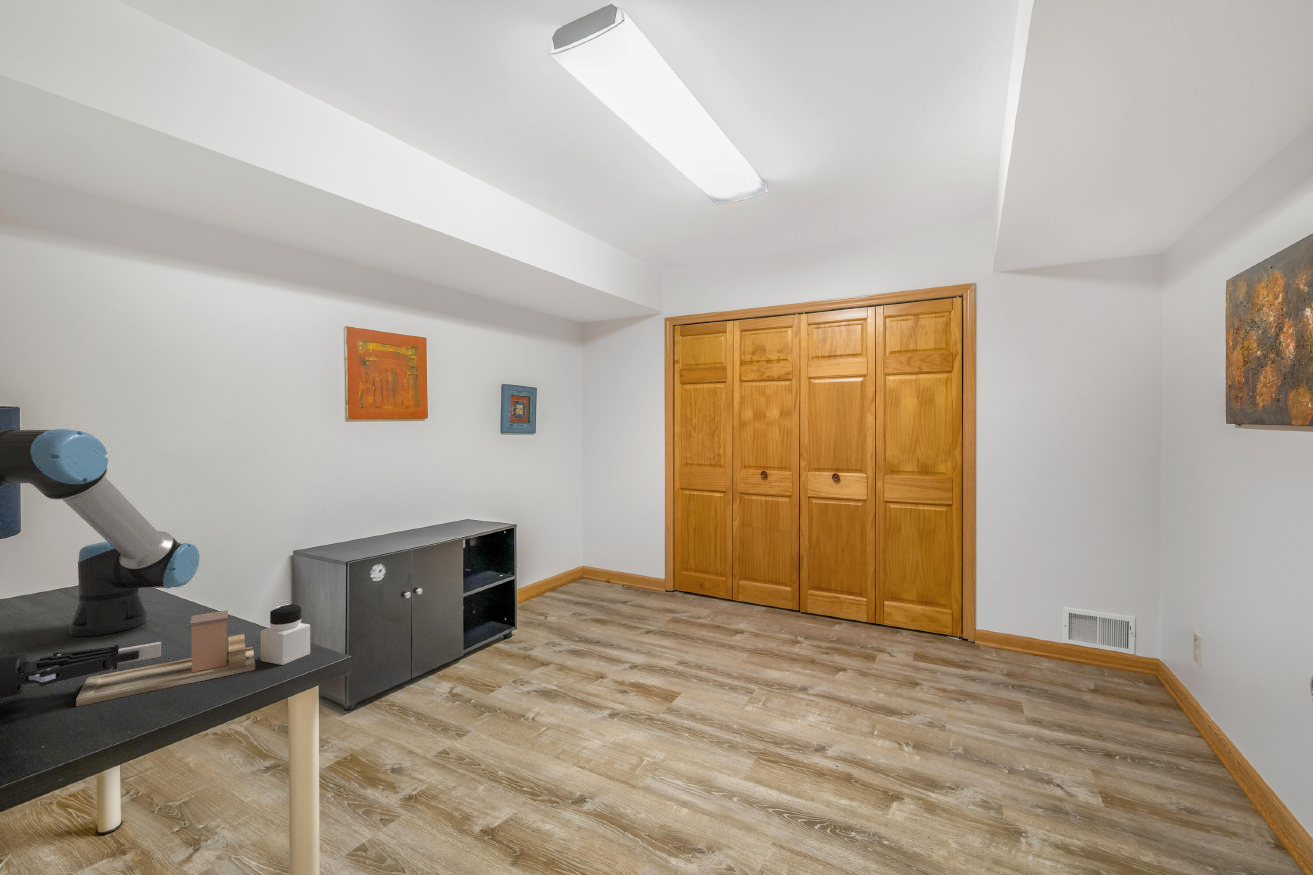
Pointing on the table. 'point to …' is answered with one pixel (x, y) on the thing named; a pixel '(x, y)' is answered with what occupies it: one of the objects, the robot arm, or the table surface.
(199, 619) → the pink box with lid
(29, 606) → the table surface
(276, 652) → the medicine bottle
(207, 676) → the rail track
